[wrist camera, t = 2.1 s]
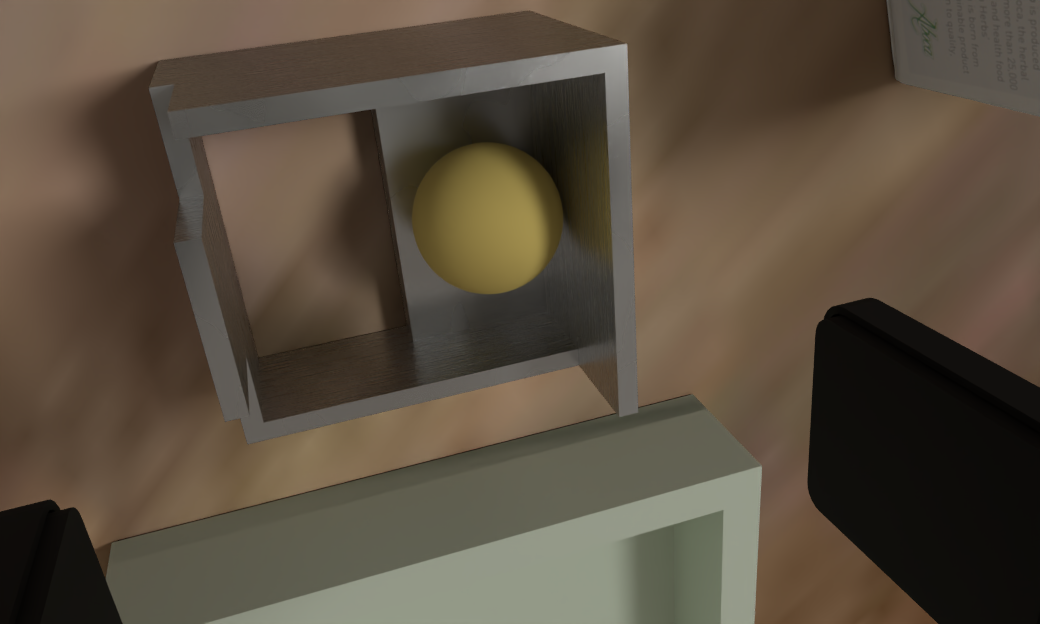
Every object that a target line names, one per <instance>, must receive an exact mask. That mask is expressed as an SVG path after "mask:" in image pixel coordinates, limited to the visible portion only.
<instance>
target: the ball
mask: <svg viewBox="0 0 1040 624" xmlns="http://www.w3.org/2000/svg"><path fill="white" fill-rule="evenodd" d="M412 227H413V233H414V237H415V241H416V244H417V246H418V249H419V251H420V253H421V255H422V257H423V258H424V260H425V261H426V263H427V264H428V265H429V267H430V268H431V269H432V270H433V271H434V272H435V273H436V274H437V275H438V276H439V277H441V278H442V279H443V280H445V281H446V282H447V283H449V284H451V285H453V286H455V287H457V288H459V289H462V290H465V291H467V292H472V293H477V294H499V293H504V292H508V291H511V290H514V289H517V288H519V287H521V286H523V285H525V284H527V283H528V282H530V281H531V280H533V279H534V278H535V277H536V276H538V275H539V274H540V273H541V272H542V271H543V270H544V269H545V267H546V266H547V265H548V264H549V262H550V261H551V259H552V257H553V256H554V254H555V252H556V250H557V248H558V245H559V242H560V239H561V235H562V229H563V208H562V202H561V199H560V195H559V192H558V190H557V187H556V185H555V183H554V181H553V180H552V178H551V176H550V175H549V174H548V172H547V171H546V170H545V169H544V167H543V166H542V165H541V164H540V163H539V162H538V161H537V160H535V159H534V158H533V157H531V156H530V155H528V154H527V153H525V152H524V151H522V150H519V149H517V148H515V147H512V146H509V145H506V144H501V143H493V142H481V143H473V144H469V145H466V146H463V147H460V148H458V149H455V150H453V151H451V152H450V153H448V154H446V155H445V156H443V157H442V158H441V159H439V160H438V161H437V162H436V163H435V164H434V165H433V166H432V167H431V168H430V169H429V171H428V172H427V173H426V174H425V176H424V178H423V179H422V181H421V183H420V185H419V187H418V189H417V192H416V195H415V198H414V203H413V209H412Z"/></svg>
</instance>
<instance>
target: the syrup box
mask: <svg viewBox="0 0 1040 624" xmlns="http://www.w3.org/2000/svg"><path fill="white" fill-rule="evenodd" d="M887 9H888V18H889V26H890V35H891V47H892V54H893V62H894V68H895V78H896V80H897V81H900V82H901V83H903V84H907V85H911V86H915V87H919V88H923V89H927V90H931V91H936V92H940V93H944V94H949V95H953V96H957V97H962V98H966V99H970V100H974V101H978V102H982V103H986V104H990V105H994V106H998V107H1003V108H1007V109H1010V110H1014V111H1018V112H1023V113H1027V114H1031V115H1035V116H1039V117H1040V0H887Z"/></svg>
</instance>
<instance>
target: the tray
mask: <svg viewBox="0 0 1040 624" xmlns="http://www.w3.org/2000/svg"><path fill="white" fill-rule="evenodd" d="M761 474H762V465H761V464H760V463H759V462H758V461H757V460H756V459H755V458H754V457H753V456H752V455H751V454H750V453H749V452H748V451H747V450H746V449H745V448H744V447H743V446H742V445H741V444H740V443H739V442H738V441H737V440H736V439H735V438H734V436H733V435H732V434H731V433H730V432H729V431H728V430H727V429H726V428H725V427H724V426H723V425H722V424H721V423H720V422H719V421H718V420H717V419H716V418H715V417H714V416H713V415H712V414H711V413H710V412H709V411H708V410H707V409H706V408H705V406H704V405H703V404H702V403H701V402H700V401H699V400H698V399H697V398H696V397H695V396H694V395H693V394H692V395H688V396H684V397H680V398H676V399H672V400H668V401H664V402H660V403H656V404H652V405H649V406H645V407H641V408H638V413H634V414H630V415H626V416H622V417H619V416H618V415H617V414H613V415H609V416H605V417H602V418H598V419H594V420H590V421H586V422H582V423H578V424H574V425H570V426H566V427H562V428H559V429H555V430H551V431H547V432H543V433H539V434H535V435H531V436H527V437H523V438H519V439H516V440H512V441H508V442H504V443H500V444H496V445H492V446H488V447H484V448H480V449H476V450H473V451H469V452H465V453H461V454H457V455H453V456H449V457H445V458H441V459H437V460H433V461H429V462H426V463H422V464H418V465H414V466H410V467H406V468H402V469H398V470H394V471H390V472H386V473H383V474H379V475H375V476H371V477H367V478H363V479H359V480H355V481H351V482H347V483H343V484H340V485H336V486H332V487H328V488H324V489H320V490H316V491H312V492H308V493H304V494H300V495H296V496H293V497H289V498H285V499H281V500H277V501H273V502H269V503H265V504H261V505H257V506H253V507H250V508H246V509H242V510H238V511H234V512H230V513H226V514H222V515H218V516H214V517H210V518H207V519H203V520H199V521H195V522H191V523H187V524H183V525H179V526H175V527H171V528H167V529H164V530H160V531H156V532H152V533H148V534H144V535H140V536H136V537H132V538H128V539H124V540H120V541H117V542H113V543H112V545H111V550H110V556H109V562H108V568H107V574H106V582H107V584H108V587H109V590H110V592H111V595H112V597H113V600H114V603H115V605H116V608H117V610H118V613H119V615H120V618H121V621H122V623H123V624H754V618H755V598H756V577H757V557H758V536H759V515H760V495H761Z"/></svg>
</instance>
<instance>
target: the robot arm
mask: <svg viewBox="0 0 1040 624" xmlns="http://www.w3.org/2000/svg"><path fill="white" fill-rule="evenodd" d="M808 490H809V494H810V497H811V499H812V501H813V503H814V505H815V506H816V508H817V509H818V510H819V511H820V512H821V513H822V514H823V515H824V516H825V517H826V518H827V519H828V520H829V521H830V522H832V523H833V524H834V525H835V526H836V527H837V528H838V529H839V530H840V531H841V532H842V533H843V534H844V535H845V536H846V537H847V538H848V539H850V540H851V541H852V542H853V543H854V544H855V545H856V546H857V547H858V548H859V549H860V550H861V551H862V552H863V553H864V554H865V555H866V556H867V557H869V558H870V559H871V560H872V561H873V562H874V563H875V564H876V565H877V566H878V567H879V568H880V569H881V570H882V571H883V572H884V573H885V574H886V575H888V576H889V577H890V578H891V579H892V580H893V581H894V582H895V583H896V584H897V585H898V586H899V587H900V588H901V589H902V590H903V591H904V592H906V593H907V594H908V595H909V596H910V597H911V598H912V599H913V600H914V601H915V602H916V603H917V604H918V605H919V606H920V607H921V608H922V609H923V610H925V611H926V612H927V613H928V614H929V615H930V616H931V617H932V618H933V619H934V620H935V621H936V622H937V623H938V624H1040V387H1038V386H1036V385H1034V384H1032V383H1030V382H1029V381H1027V380H1025V379H1023V378H1021V377H1019V376H1018V375H1016V374H1014V373H1012V372H1010V371H1008V370H1006V369H1005V368H1003V367H1001V366H999V365H997V364H995V363H994V362H992V361H990V360H988V359H986V358H984V357H983V356H981V355H979V354H977V353H975V352H973V351H971V350H970V349H968V348H966V347H964V346H962V345H960V344H959V343H957V342H955V341H953V340H951V339H949V338H948V337H946V336H944V335H942V334H940V333H938V332H937V331H935V330H933V329H931V328H929V327H927V326H925V325H924V324H922V323H920V322H918V321H916V320H914V319H913V318H911V317H909V316H907V315H905V314H903V313H902V312H900V311H898V310H896V309H894V308H892V307H890V306H889V305H887V304H885V303H883V302H881V301H879V300H877V299H874V298H866V299H862V300H857V301H853V302H849V303H845V304H841V305H837V306H833V307H831V308H830V309H829V310H828V311H827V313H826V314H825V316H824V320H822V321H820V322H819V324H818V325H817V328H816V334H815V353H814V371H813V390H812V408H811V427H810V445H809V463H808ZM0 624H123V623H122V621H121V618H120V615H119V613H118V610H117V608H116V605H115V603H114V600H113V597H112V595H111V592H110V590H109V587H108V584H107V582H106V579H105V577H104V574H103V572H102V569H101V566H100V564H99V561H98V559H97V556H96V553H95V551H94V548H93V546H92V543H91V540H90V538H89V535H88V533H87V530H86V528H85V525H84V522H83V520H82V518H81V515H80V513H79V512H78V510H77V509H76V508H74V507H72V508H68V509H64V510H60V509H59V507H58V505H57V504H56V503H55V502H54V501H52V500H46V501H42V502H38V503H34V504H30V505H25V506H21V507H17V508H13V509H9V510H5V511H1V512H0Z"/></svg>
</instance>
